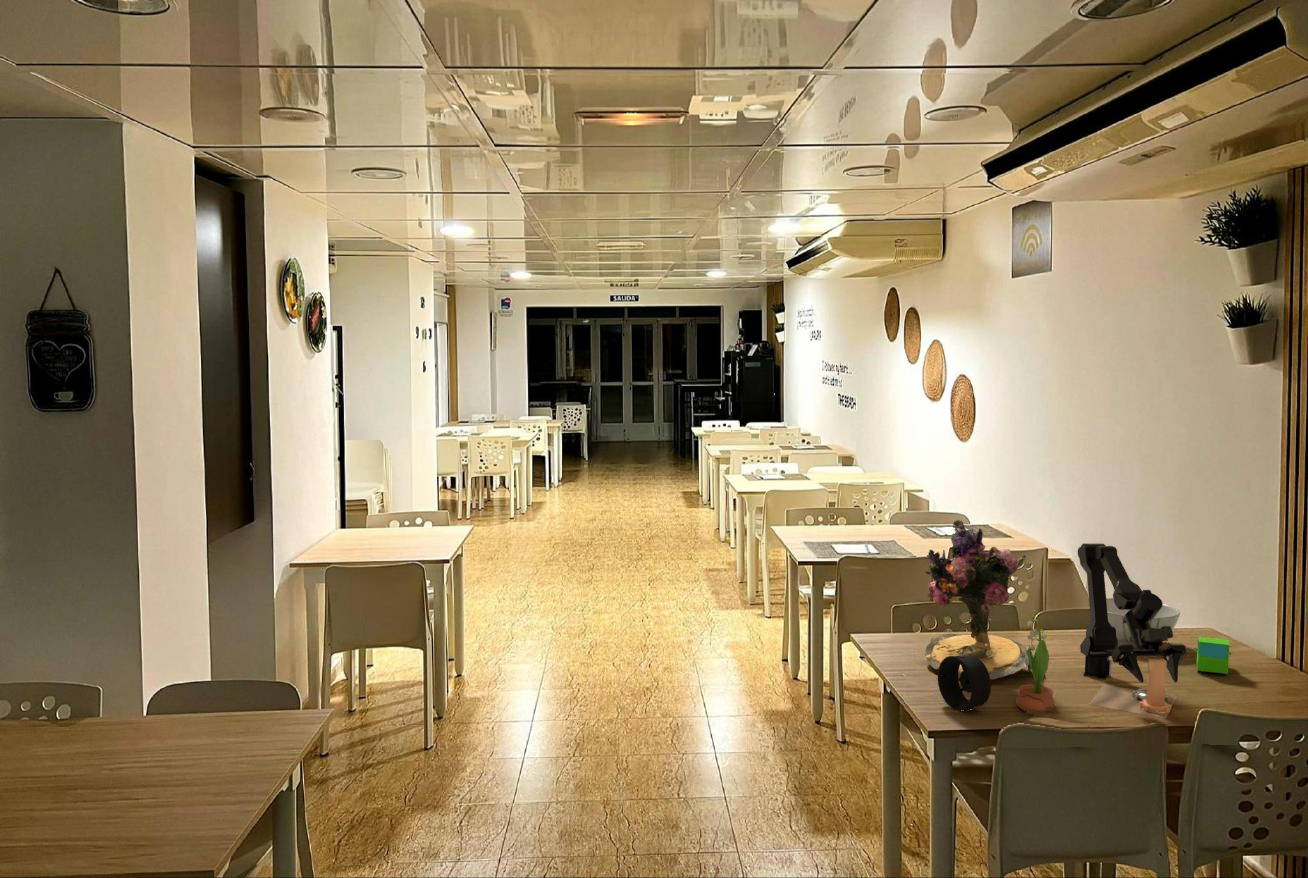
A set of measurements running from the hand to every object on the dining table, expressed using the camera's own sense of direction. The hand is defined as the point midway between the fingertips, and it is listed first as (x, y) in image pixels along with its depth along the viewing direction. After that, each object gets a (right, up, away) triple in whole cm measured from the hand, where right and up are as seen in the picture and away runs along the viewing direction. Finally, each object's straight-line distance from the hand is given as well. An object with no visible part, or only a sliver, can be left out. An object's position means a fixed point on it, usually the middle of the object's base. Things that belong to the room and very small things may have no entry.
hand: (1159, 681), depth 286 cm
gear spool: (0, -7, +2) cm, 8 cm away
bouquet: (-35, -6, +42) cm, 55 cm away
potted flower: (-31, -9, +6) cm, 33 cm away
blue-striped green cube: (+36, -6, +43) cm, 56 cm away
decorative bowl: (+25, -3, +72) cm, 76 cm away
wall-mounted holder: (-49, -9, +6) cm, 50 cm away
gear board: (-3, -9, +9) cm, 13 cm away
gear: (+2, -7, +11) cm, 13 cm away
